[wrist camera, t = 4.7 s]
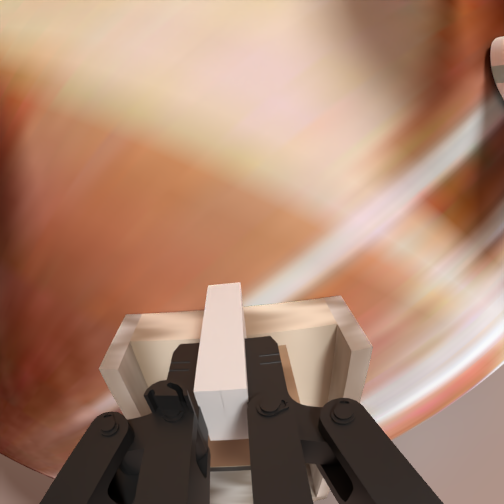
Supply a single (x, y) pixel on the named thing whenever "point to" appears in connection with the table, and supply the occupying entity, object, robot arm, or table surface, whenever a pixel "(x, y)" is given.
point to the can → (498, 63)
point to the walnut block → (238, 450)
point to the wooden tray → (257, 325)
